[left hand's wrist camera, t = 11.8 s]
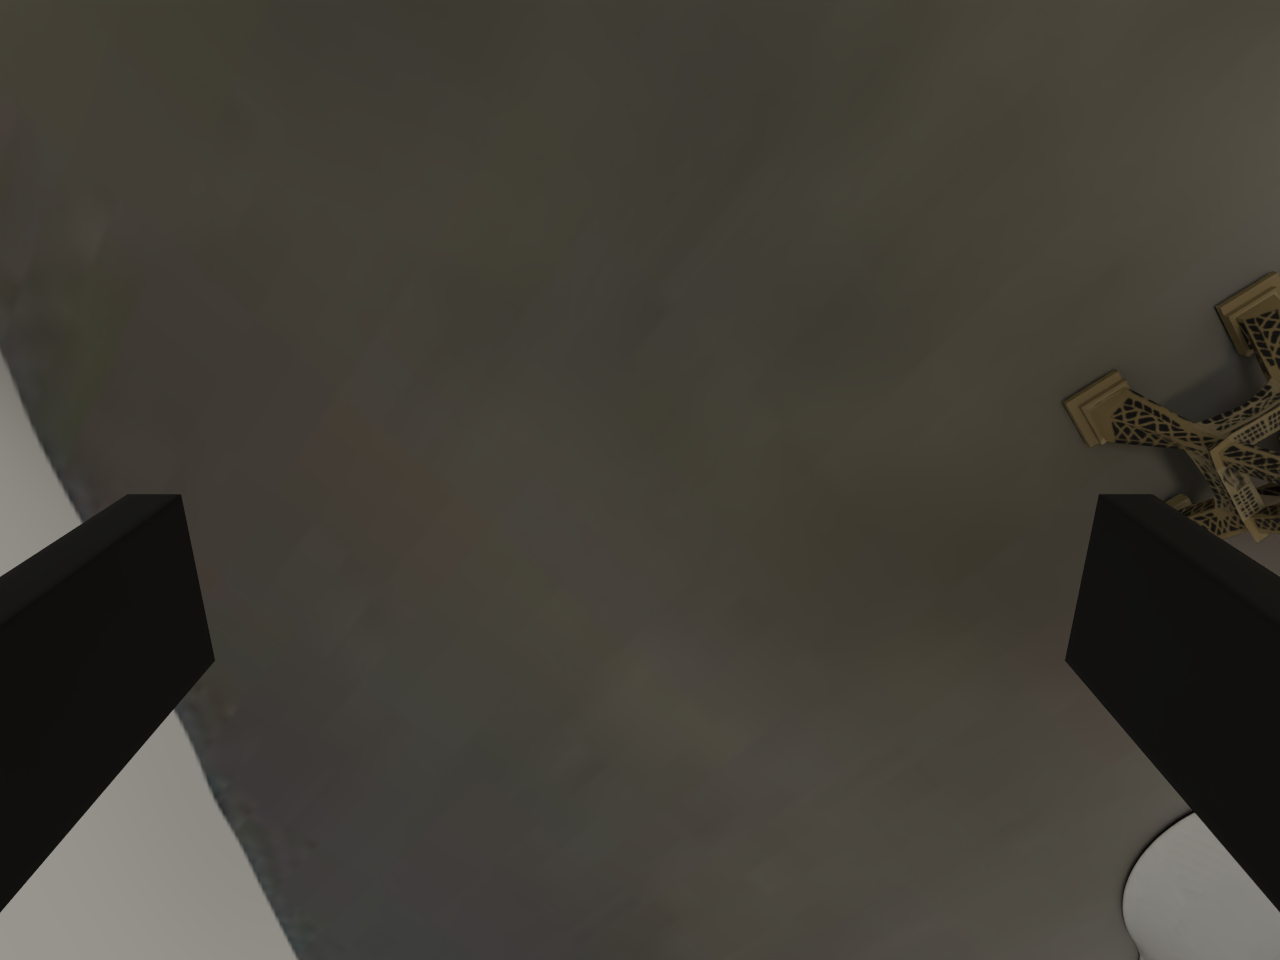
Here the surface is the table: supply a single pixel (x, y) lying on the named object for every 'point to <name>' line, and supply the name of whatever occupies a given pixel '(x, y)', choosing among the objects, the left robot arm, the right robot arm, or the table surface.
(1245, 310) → the eiffel tower
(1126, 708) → the left robot arm
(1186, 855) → the right robot arm
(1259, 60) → the table surface
